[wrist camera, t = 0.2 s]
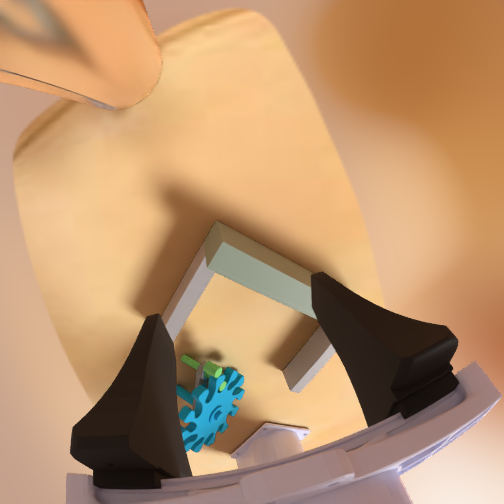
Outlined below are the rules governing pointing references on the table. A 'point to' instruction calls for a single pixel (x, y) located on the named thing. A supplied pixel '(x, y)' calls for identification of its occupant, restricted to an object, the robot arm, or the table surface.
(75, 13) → the white cylindrical tube
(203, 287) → the green u-shaped bracket
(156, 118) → the table surface
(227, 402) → the blue toy cog wheel
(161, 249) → the table surface
